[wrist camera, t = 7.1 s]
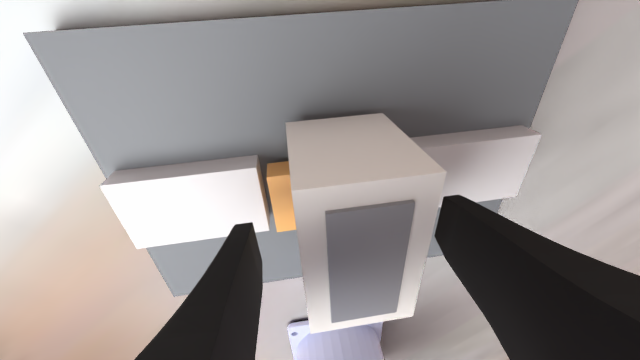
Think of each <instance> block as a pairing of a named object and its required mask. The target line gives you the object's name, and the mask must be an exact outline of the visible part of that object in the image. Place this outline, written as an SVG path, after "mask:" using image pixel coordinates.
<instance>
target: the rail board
mask: <svg viewBox="0 0 640 360" xmlns="http://www.w3.org/2000/svg"><path fill="white" fill-rule="evenodd" d="M578 1H579V0H501V1H486V2H471V3H456V4H442V5H427V6H412V7H397V8H382V9H367V10H353V11H338V12H323V13H308V14H293V15H279V16H264V17H249V18H234V19H219V20H205V21H190V22H175V23H160V24H145V25H131V26H116V27H101V28H86V29H71V30H57V31H42V32H28V33H23V34H24V36H25V38H26V40H27V41H28V43H29V45H30V47H31V48H32V50H33V52H34V54H35V55H36V57H37V59H38V61H39V62H40V64H41V66H42V67H43V69H44V71H45V73H46V74H47V76H48V78H49V80H50V81H51V83H52V85H53V87H54V88H55V90H56V92H57V94H58V95H59V97H60V99H61V101H62V102H63V104H64V106H65V108H66V109H67V111H68V113H69V115H70V116H71V118H72V120H73V122H74V123H75V125H76V127H77V129H78V130H79V132H80V134H81V136H82V137H83V139H84V141H85V143H86V144H87V146H88V148H89V150H90V151H91V153H92V155H93V157H94V158H95V160H96V162H97V163H98V165H99V167H100V169H101V170H102V172H103V174H104V176H105V177H106V180H105V181H104V182H103V183H102V184H101V185H100V188H101V190H102V191H103V193H104V195H105V196H106V198H107V200H108V201H109V203H110V205H111V206H112V208H113V210H114V211H115V213H116V215H117V216H118V218H119V220H120V221H121V223H122V225H123V226H124V228H125V230H126V231H127V233H128V235H129V236H130V238H131V240H132V241H133V243H134V245H135V246H136V248H137V249H140V248H146V249H147V251H148V253H149V254H150V256H151V258H152V259H153V261H154V263H155V265H156V266H157V268H158V270H159V272H160V273H161V275H162V277H163V279H164V280H165V282H166V284H167V286H168V287H169V289H170V291H171V293H172V294H173V296H174V297H175V296H182V295H188V294H190V292H191V291H192V290H193V288H194V287H195V286H196V284H197V283H198V281H199V280H200V279H201V277H202V276H203V274H204V273H205V271H206V270H207V268H208V267H209V265H210V264H211V262H212V261H213V259H214V258H215V256H216V255H217V253H218V251H219V250H220V248H221V246H222V245H223V243H224V241H225V240H226V238H227V236H228V235H229V233H230V231H231V230H232V228H233V226H234V225H235V224H242V223H250V222H253V226H254V230H255V234H256V238H257V242H258V246H259V250H260V254H261V258H262V271H263V283H266V282H272V281H279V280H285V279H292V278H298V277H303V275H302V267H301V260H300V252H299V245H298V237H297V230H290V231H283V232H277V229H276V224H275V219H274V214H273V209H272V204H271V198H270V193H269V188H268V183H267V178H266V177H267V163H276V162H285V161H289V158H288V147H287V135H286V123H285V122H296V121H306V120H316V119H326V118H336V117H346V116H356V115H367V114H377V113H383V114H384V115H385V116H386V117H388V118H389V119H390V120H391V121H392V122H393V123H394V124H395V125H396V126H397V127H398V128H399V129H401V130H402V131H403V132H404V133H405V134H406V135H407V136H408V137H409V138H410V139H411V140H412V141H414V142H415V143H416V144H417V145H418V146H419V147H420V148H421V149H422V150H423V151H424V152H425V153H427V154H428V155H429V156H430V157H431V158H432V159H433V160H434V161H435V162H436V163H437V164H439V165H440V166H441V167H442V168H443V169H444V170H445V171H446V172H447V173H446V177H445V181H444V186H443V190H442V194H441V198H440V203H439V207H438V211H437V216H436V220H435V224H434V228H433V233H432V237H431V241H430V246H429V250H428V254H427V258H428V257H435V256H441V255H443V253H442V251H441V249H440V247H439V245H438V243H437V241H436V239H435V236H434V235H435V231H436V227H437V223H438V218H439V214H440V210H441V206H442V201H443V197H444V196H451V195H461V196H463V197H466V198H468V199H470V200H472V201H474V202H476V203H478V204H480V205H482V206H484V207H485V208H487V209H489V210H491V211H493V212H495V213H497V212H498V209H499V207H500V204H501V202H502V199H503V198H511V197H517V194H518V192H519V189H520V187H521V184H522V182H523V180H524V177H525V175H526V172H527V170H528V168H529V165H530V163H531V160H532V158H533V156H534V153H535V151H536V148H537V146H538V144H539V141H540V139H541V136H542V134H540V133H538V132H536V131H534V130H532V129H529V128H530V126H531V123H532V121H533V118H534V115H535V113H536V110H537V108H538V105H539V102H540V100H541V97H542V95H543V92H544V89H545V87H546V84H547V81H548V79H549V76H550V74H551V71H552V68H553V66H554V63H555V61H556V58H557V55H558V53H559V50H560V48H561V45H562V42H563V40H564V37H565V34H566V32H567V29H568V27H569V24H570V21H571V19H572V16H573V14H574V11H575V8H576V6H577V3H578Z"/></svg>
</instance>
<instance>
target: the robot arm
mask: <svg viewBox="0 0 640 360" xmlns="http://www.w3.org/2000/svg"><path fill="white" fill-rule="evenodd" d="M434 236H435V239H436V241H437V243H438V245H439V247H440V249H441V251H442V253H443V255H444V256H445V258H446V260H447V262H448V263H449V265H450V266H451V268H452V269H453V271H454V272H455V274H456V275H457V276H458V278H459V279H460V281H461V282H462V284H463V285H464V287H465V288H466V290H467V291H468V292H469V294H470V295H471V297H472V298H473V300H474V301H475V303H476V304H477V305H478V307H479V308H480V310H481V311H482V313H483V314H484V316H485V317H486V319H487V321H488V322H489V324H490V325H491V327H492V329H493V330H494V332H495V334H496V336H497V338H498V339H499V341H500V343H501V345H502V346H503V348H504V350H505V352H506V354H507V355H508V357H509V359H510V360H640V276H639V275H636V274H633V273H630V272H627V271H624V270H622V269H619V268H616V267H614V266H611V265H608V264H606V263H603V262H601V261H598V260H596V259H594V258H591V257H589V256H586V255H584V254H581V253H579V252H576V251H574V250H572V249H569V248H567V247H565V246H562V245H560V244H558V243H556V242H554V241H552V240H549V239H547V238H545V237H543V236H541V235H539V234H537V233H535V232H533V231H530V230H528V229H526V228H524V227H522V226H520V225H518V224H516V223H514V222H513V221H511V220H509V219H507V218H505V217H503V216H501V215H499V214H497V213H495V212H493V211H491V210H489V209H487V208H485V207H484V206H482V205H480V204H478V203H476V202H474V201H472V200H470V199H468V198H466V197H463V196H461V195H451V196H444V197H443V201H442V206H441V210H440V214H439V218H438V223H437V227H436V231H435V235H434ZM262 288H263V271H262V258H261V254H260V250H259V246H258V242H257V238H256V234H255V230H254V226H253V222H250V223H242V224H235V225H234V226H233V228H232V230H231V231H230V233H229V235H228V236H227V238H226V240H225V241H224V243H223V245H222V246H221V248H220V250H219V251H218V253H217V255H216V256H215V258H214V259H213V261H212V262H211V264H210V265H209V267H208V268H207V270H206V271H205V273H204V274H203V276H202V277H201V279H200V280H199V281H198V283H197V284H196V286H195V287H194V288H193V290H192V291H191V292H190V294H189V295H188V297H187V298H186V299H185V301H184V302H183V303H182V305H181V306H180V307H179V308H178V310H177V311H176V312H175V313H174V315H173V316H172V317H171V318H170V320H169V321H168V322H167V323H166V324H165V326H164V327H163V328H162V329H161V330H160V332H159V333H158V334H157V335H156V336H155V337H154V338H153V340H152V341H151V342H150V343H149V344H148V345H147V346H146V347H145V348H144V350H143V351H142V352H141V353H140V354H139V355H138V356H137V357H136V358H135V360H255V352H256V343H257V334H258V325H259V316H260V307H261V298H262ZM382 326H383V322H378V323H372V324H366V325H360V326H354V327H349V328H343V329H337V330H331V331H325V332H319V333H313V334H310V327H309V320H306V321H300V322H294V323H291V324H289V325H288V327H287V329H288V335H289V340H290V344H291V349H292V353H293V357H294V360H385V359H384V356H383V353H382V350H381V347H380V342H381V334H382Z"/></svg>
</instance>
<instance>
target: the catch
mask: <svg viewBox="0 0 640 360" xmlns="http://www.w3.org/2000/svg"><path fill="white" fill-rule="evenodd" d="M266 178H267V183H268V188H269V193H270V198H271V204H272V209H273V214H274V219H275V224H276V229H277V232H283V231H290V230H296V222H295V215H294V207H293V200H292V192H291V182H290V170H289V161H285V162H276V163H267V177H266Z"/></svg>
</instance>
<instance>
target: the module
mask: <svg viewBox="0 0 640 360" xmlns="http://www.w3.org/2000/svg"><path fill="white" fill-rule="evenodd" d="M285 123H286V135H287V147H288V158H289V170H290V182H291V192H292V200H293V207H294V215H295V222H296V230H297V237H298V245H299V252H300V260H301V267H302V275H303V282H304V290H305V297H306V305H307V312H308V320H309V327H310V334H313V333H319V332H325V331H331V330H337V329H343V328H349V327H354V326H360V325H366V324H372V323H378V322H384V321H389V320H395V319H401V318H407V317H413V314H414V310H415V305H416V301H417V297H418V293H419V288H420V284H421V280H422V275H423V271H424V267H425V263H426V258H427V254H428V250H429V246H430V241H431V237H432V233H433V228H434V224H435V220H436V216H437V211H438V207H439V203H440V198H441V194H442V190H443V186H444V181H445V177H446V173H447V172H446V171H445V170H444V169H443V168H442V167H441V166H440V165H439V164H437V163H436V162H435V161H434V160H433V159H432V158H431V157H430V156H429V155H428V154H427V153H425V152H424V151H423V150H422V149H421V148H420V147H419V146H418V145H417V144H416V143H415V142H414V141H412V140H411V139H410V138H409V137H408V136H407V135H406V134H405V133H404V132H403V131H402V130H401V129H399V128H398V127H397V126H396V125H395V124H394V123H393V122H392V121H391V120H390V119H389V118H388V117H386V116H385V115H384V114H383V113H377V114H367V115H356V116H346V117H336V118H326V119H316V120H306V121H296V122H285Z"/></svg>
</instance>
